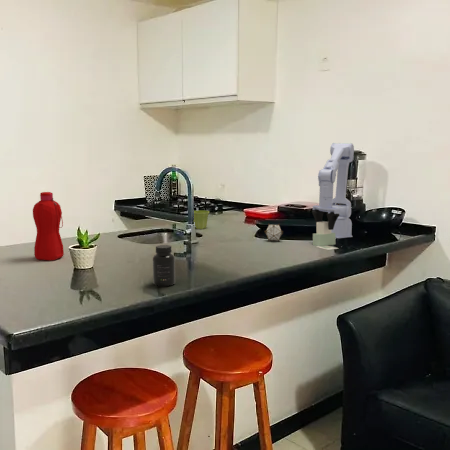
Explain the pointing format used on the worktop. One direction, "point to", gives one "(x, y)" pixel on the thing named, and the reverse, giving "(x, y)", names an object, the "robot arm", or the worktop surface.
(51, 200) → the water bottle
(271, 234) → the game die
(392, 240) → the worktop surface
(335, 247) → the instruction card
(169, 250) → the supplement bottle
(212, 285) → the worktop surface
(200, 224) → the plant pot
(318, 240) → the sage brick
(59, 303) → the worktop surface
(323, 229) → the ivory brick
